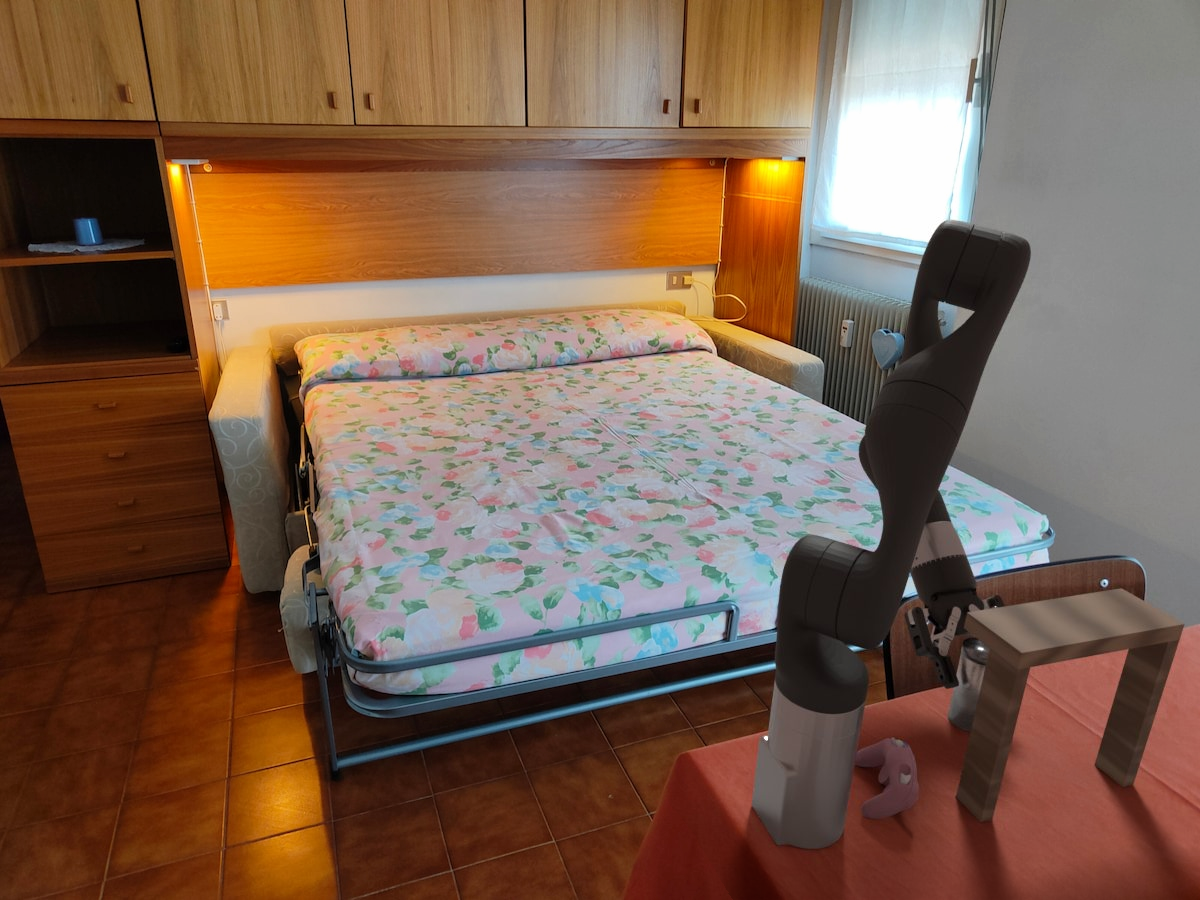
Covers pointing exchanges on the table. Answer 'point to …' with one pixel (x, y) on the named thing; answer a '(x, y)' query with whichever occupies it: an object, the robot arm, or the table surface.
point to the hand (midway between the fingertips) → (980, 682)
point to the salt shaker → (968, 683)
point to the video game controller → (890, 777)
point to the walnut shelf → (1059, 637)
